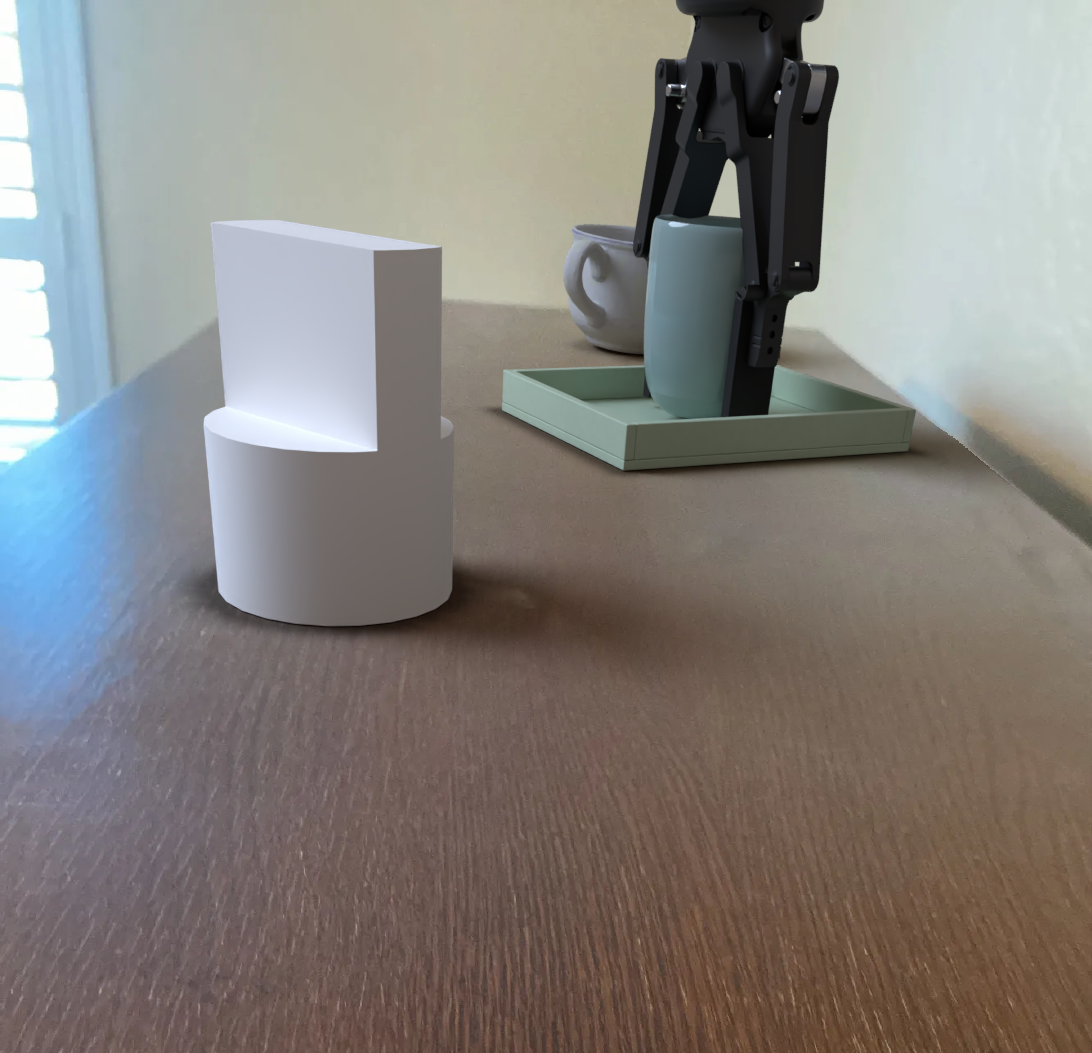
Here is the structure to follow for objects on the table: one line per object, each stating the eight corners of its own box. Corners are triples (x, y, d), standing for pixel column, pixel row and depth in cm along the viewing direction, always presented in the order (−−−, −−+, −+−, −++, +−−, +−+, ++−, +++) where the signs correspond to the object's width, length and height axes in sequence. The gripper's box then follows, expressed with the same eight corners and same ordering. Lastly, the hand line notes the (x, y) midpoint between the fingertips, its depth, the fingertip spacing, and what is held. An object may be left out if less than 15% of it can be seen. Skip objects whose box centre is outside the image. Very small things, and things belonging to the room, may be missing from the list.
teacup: (638, 333, 108) (647, 222, 103) (733, 356, 101) (747, 238, 96) (505, 344, 100) (508, 224, 95) (598, 369, 93) (607, 241, 89)
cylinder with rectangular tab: (499, 591, 51) (511, 244, 45) (322, 644, 46) (304, 255, 39) (347, 538, 56) (337, 217, 49) (170, 580, 50) (130, 223, 44)
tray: (761, 398, 87) (766, 361, 86) (908, 451, 76) (916, 409, 75) (501, 410, 80) (502, 369, 78) (623, 471, 69) (626, 424, 67)
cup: (752, 435, 73) (780, 232, 68) (620, 418, 75) (636, 219, 70) (777, 411, 80) (805, 223, 74) (655, 395, 81) (672, 211, 76)
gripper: (592, -76, 71) (566, 378, 83) (823, -104, 55) (747, 455, 68) (709, -61, 74) (666, 375, 86) (958, -85, 58) (861, 448, 71)
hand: (702, 410), depth 77 cm, fingers closed on cup, 8 cm apart
